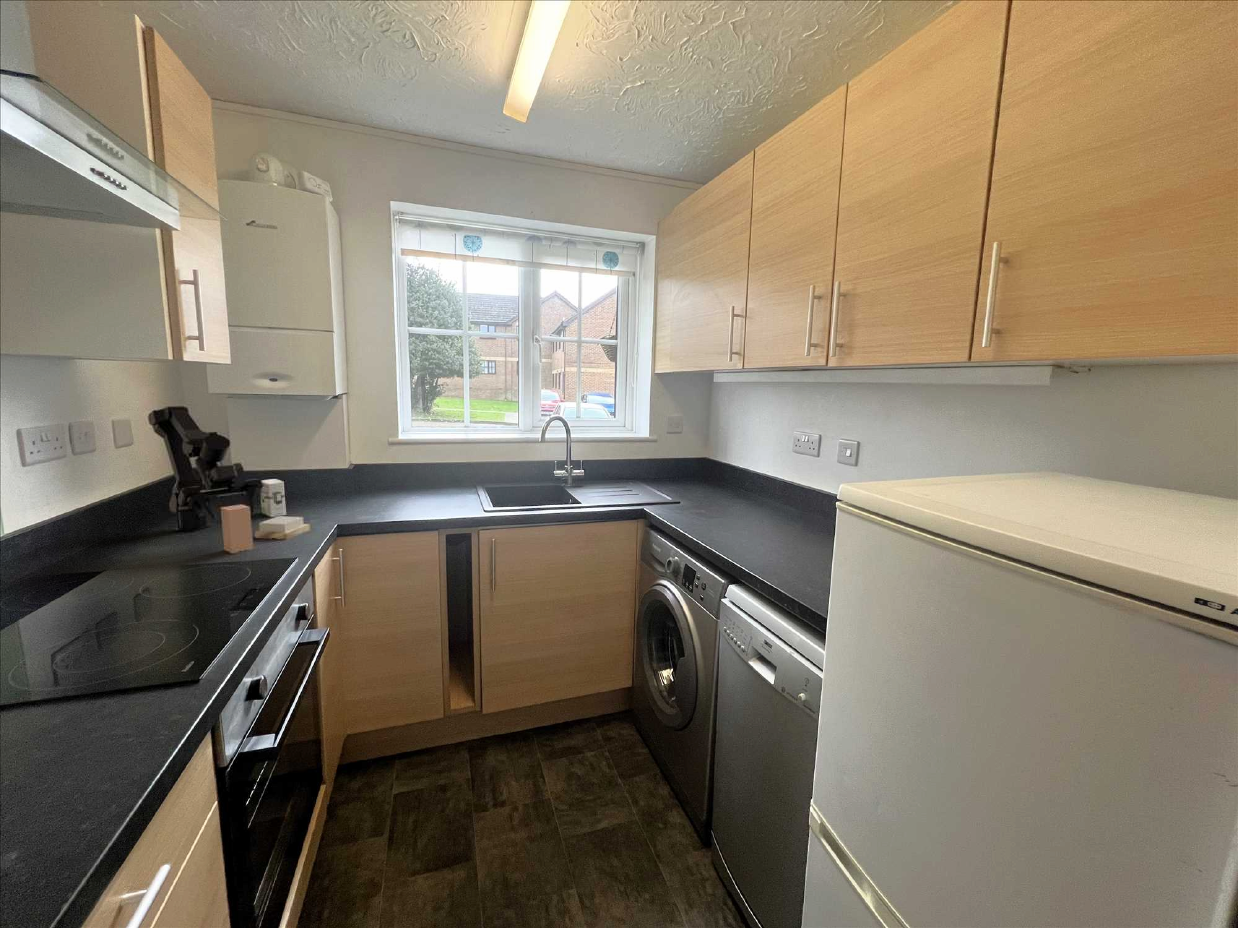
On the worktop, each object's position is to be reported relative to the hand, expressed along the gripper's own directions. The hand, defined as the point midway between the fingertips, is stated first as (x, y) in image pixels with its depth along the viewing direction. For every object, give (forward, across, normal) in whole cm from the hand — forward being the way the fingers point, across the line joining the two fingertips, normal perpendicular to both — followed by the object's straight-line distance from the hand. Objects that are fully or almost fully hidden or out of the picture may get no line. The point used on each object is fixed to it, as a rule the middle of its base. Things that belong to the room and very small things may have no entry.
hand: (233, 516), depth 141 cm
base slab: (+3, +14, +10) cm, 18 cm away
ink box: (-16, +23, +29) cm, 41 cm away
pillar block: (+8, 0, +6) cm, 9 cm away
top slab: (+2, +14, +9) cm, 17 cm away
